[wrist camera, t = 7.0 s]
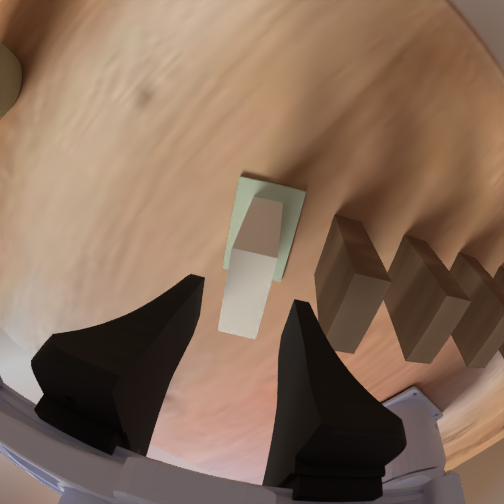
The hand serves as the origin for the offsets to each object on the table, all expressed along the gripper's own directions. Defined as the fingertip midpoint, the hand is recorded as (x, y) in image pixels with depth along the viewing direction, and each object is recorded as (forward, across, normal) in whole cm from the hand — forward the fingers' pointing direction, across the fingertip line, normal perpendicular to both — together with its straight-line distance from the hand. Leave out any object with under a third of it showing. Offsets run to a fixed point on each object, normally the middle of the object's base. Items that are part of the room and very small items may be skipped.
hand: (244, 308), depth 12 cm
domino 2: (+8, -5, 0) cm, 9 cm away
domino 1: (+8, 0, 0) cm, 8 cm away
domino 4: (+8, -15, 0) cm, 17 cm away
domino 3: (+8, -10, 0) cm, 13 cm away
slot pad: (+8, 0, 0) cm, 8 cm away
